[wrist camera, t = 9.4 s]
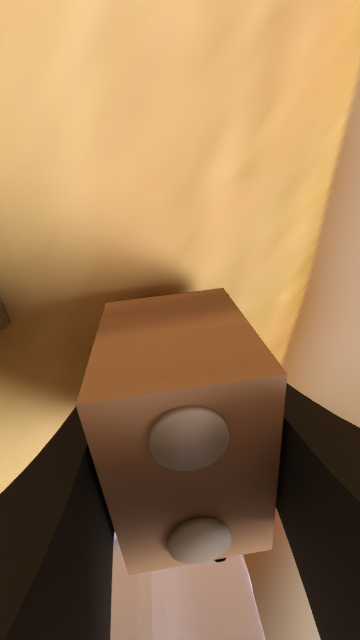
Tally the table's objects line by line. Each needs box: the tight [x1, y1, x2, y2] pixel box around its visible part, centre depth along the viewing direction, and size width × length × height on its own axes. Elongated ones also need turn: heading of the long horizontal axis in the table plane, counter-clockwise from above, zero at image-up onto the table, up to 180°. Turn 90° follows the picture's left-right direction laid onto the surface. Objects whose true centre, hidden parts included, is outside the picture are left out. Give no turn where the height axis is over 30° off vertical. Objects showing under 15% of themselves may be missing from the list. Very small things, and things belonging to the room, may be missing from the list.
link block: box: [76, 288, 287, 575], centre depth 9 cm, size 6×4×5 cm, turn 4°
